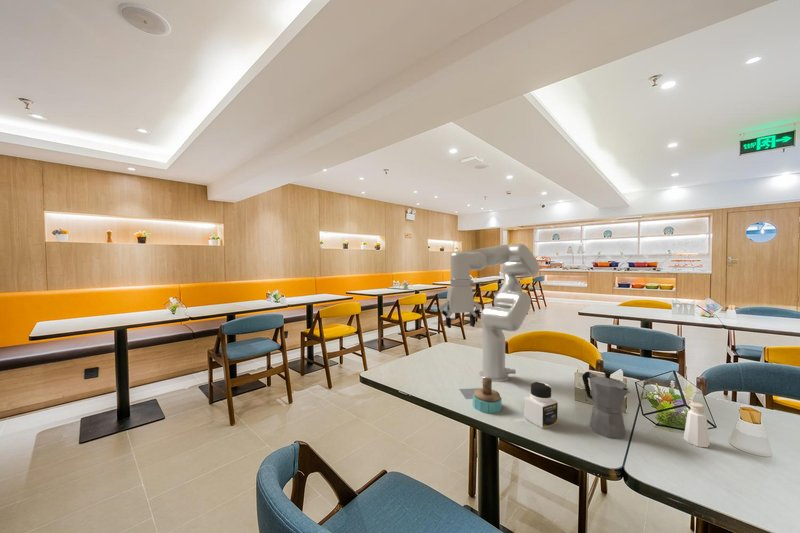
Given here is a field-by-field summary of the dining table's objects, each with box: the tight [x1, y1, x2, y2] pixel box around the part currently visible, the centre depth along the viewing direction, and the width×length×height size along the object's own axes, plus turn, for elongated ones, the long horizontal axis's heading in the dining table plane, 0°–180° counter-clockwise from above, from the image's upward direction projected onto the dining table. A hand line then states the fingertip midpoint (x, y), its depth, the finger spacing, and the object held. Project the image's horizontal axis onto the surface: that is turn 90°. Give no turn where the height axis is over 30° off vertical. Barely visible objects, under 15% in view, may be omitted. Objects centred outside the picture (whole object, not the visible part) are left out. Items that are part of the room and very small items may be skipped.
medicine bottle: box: [523, 381, 559, 429], centre depth 98 cm, size 7×7×12 cm
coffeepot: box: [581, 371, 631, 440], centre depth 94 cm, size 15×9×18 cm, turn 16°
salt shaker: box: [683, 401, 711, 448], centre depth 87 cm, size 5×5×11 cm
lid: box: [475, 378, 501, 402], centre depth 107 cm, size 8×8×6 cm
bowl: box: [472, 393, 503, 414], centre depth 107 cm, size 10×10×4 cm
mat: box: [459, 387, 481, 400], centre depth 118 cm, size 9×9×1 cm
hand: (460, 326), depth 121 cm, fingers open, 9 cm apart
